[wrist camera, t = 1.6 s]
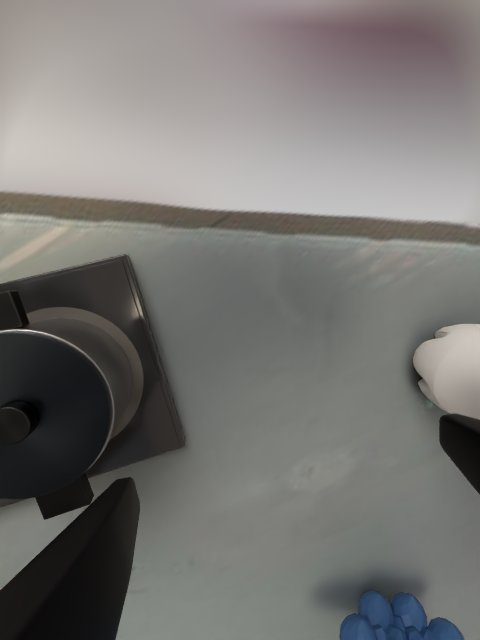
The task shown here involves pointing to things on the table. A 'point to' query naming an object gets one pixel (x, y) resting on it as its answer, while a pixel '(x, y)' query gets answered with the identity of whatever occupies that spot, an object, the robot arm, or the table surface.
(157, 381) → the hob
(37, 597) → the robot arm
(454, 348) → the water bottle
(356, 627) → the grapes
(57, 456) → the pot
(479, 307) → the table surface
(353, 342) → the table surface
